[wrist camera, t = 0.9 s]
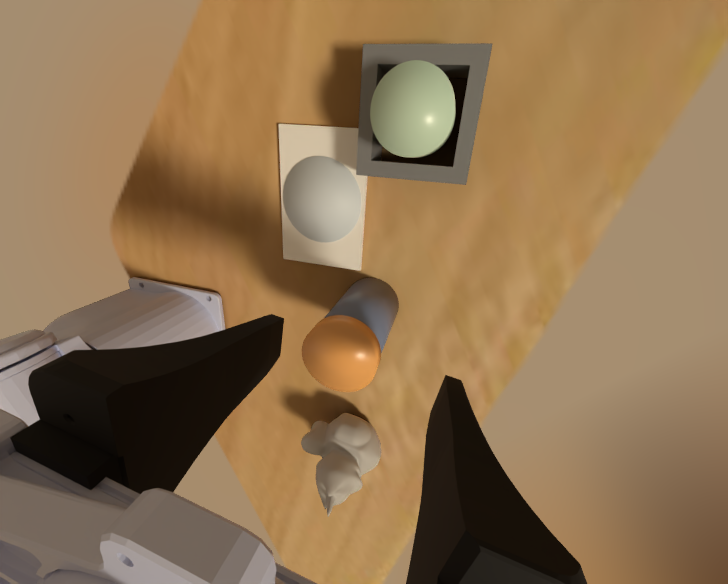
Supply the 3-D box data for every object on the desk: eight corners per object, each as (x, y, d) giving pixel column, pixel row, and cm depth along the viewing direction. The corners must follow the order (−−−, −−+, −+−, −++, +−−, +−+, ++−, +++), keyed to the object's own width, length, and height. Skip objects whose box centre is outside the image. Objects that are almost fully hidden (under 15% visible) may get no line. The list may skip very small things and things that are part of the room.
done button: (380, 155, 18) (367, 154, 15) (387, 76, 16) (373, 59, 14) (448, 160, 17) (447, 160, 14) (461, 77, 16) (462, 60, 13)
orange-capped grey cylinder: (344, 322, 25) (302, 382, 18) (346, 272, 23) (301, 317, 16) (396, 332, 24) (373, 399, 17) (403, 281, 22) (380, 333, 16)
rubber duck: (378, 457, 29) (352, 553, 22) (313, 431, 30) (269, 514, 23) (392, 416, 27) (369, 507, 20) (321, 389, 28) (275, 467, 21)
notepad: (285, 257, 24) (282, 259, 24) (280, 124, 20) (277, 123, 20) (361, 269, 23) (359, 271, 22) (370, 129, 19) (369, 128, 19)
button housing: (367, 173, 20) (356, 174, 18) (375, 59, 18) (363, 44, 15) (464, 181, 19) (466, 184, 16) (487, 60, 16) (492, 43, 14)
